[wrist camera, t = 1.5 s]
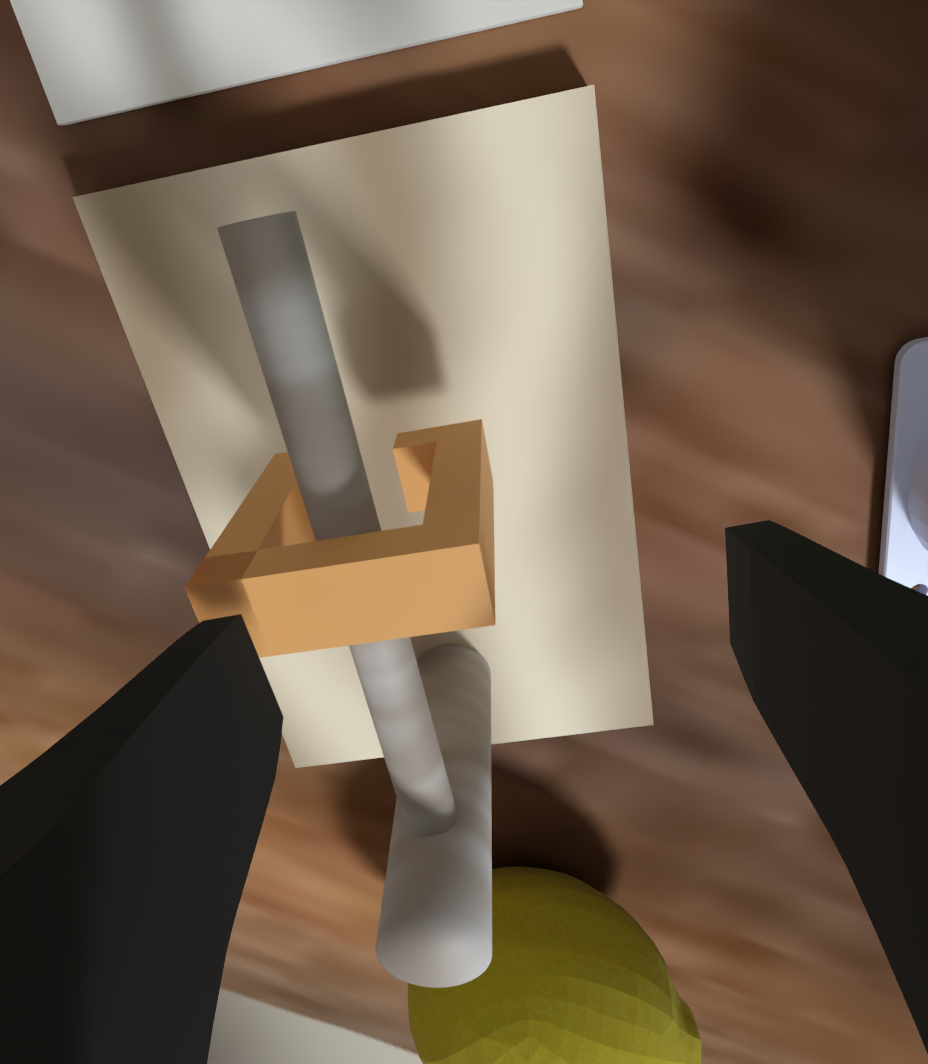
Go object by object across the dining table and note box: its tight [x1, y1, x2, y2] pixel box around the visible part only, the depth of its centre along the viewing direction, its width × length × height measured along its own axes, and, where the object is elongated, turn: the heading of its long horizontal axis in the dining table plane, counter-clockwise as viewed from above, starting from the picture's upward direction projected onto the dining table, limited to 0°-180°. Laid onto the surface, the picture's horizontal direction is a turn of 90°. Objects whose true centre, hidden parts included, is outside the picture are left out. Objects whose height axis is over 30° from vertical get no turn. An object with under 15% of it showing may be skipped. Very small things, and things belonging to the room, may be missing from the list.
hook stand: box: [73, 85, 653, 988], centre depth 17 cm, size 12×18×10 cm, turn 11°
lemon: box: [408, 866, 701, 1064], centre depth 26 cm, size 11×8×8 cm
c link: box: [185, 419, 496, 658], centre depth 15 cm, size 5×2×6 cm, turn 101°
